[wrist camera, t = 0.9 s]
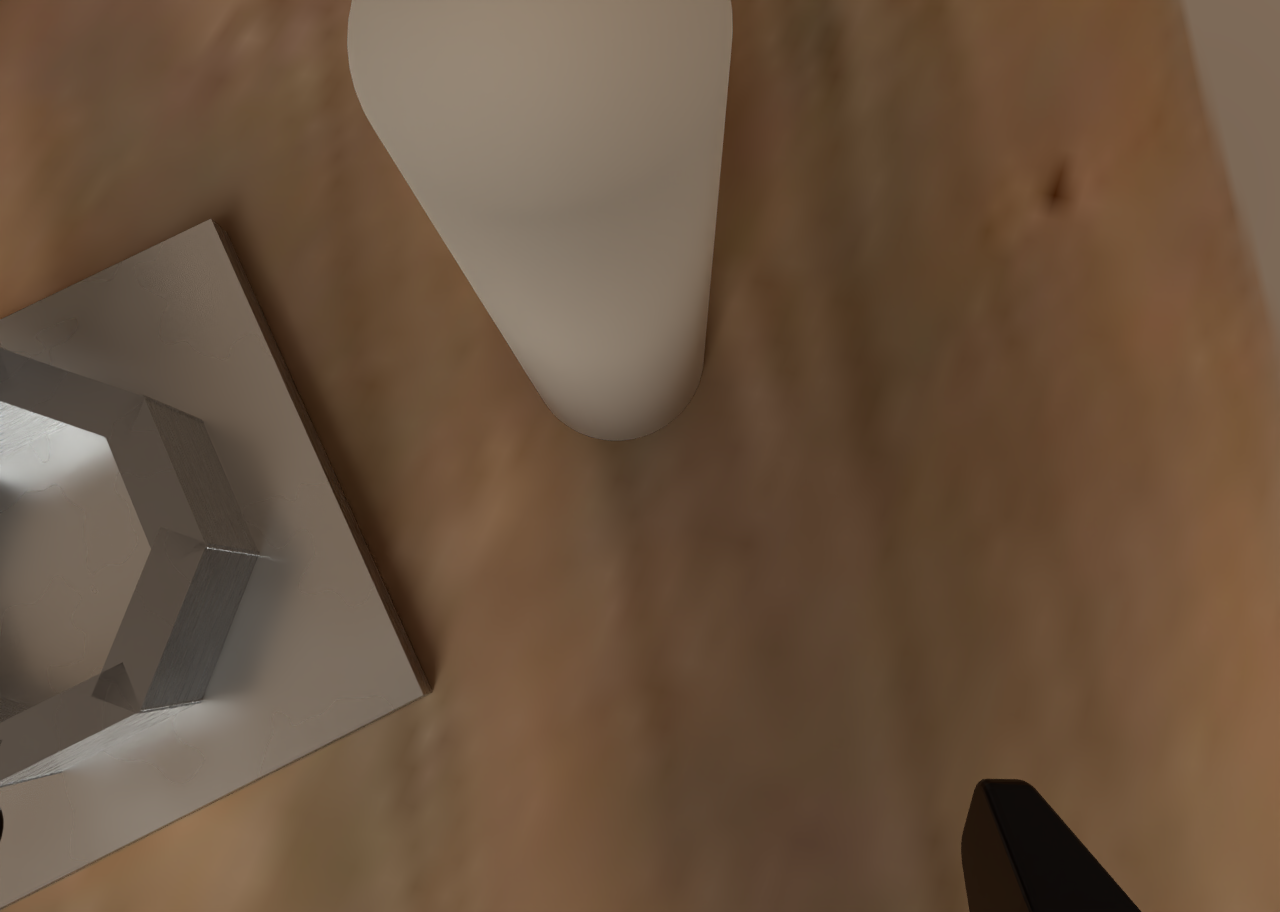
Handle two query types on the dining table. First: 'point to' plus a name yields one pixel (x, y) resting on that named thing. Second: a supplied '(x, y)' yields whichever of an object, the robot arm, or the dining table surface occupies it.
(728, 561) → the dining table surface
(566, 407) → the beige cylinder
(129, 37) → the dining table surface
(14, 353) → the square plate with nut
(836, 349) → the dining table surface
